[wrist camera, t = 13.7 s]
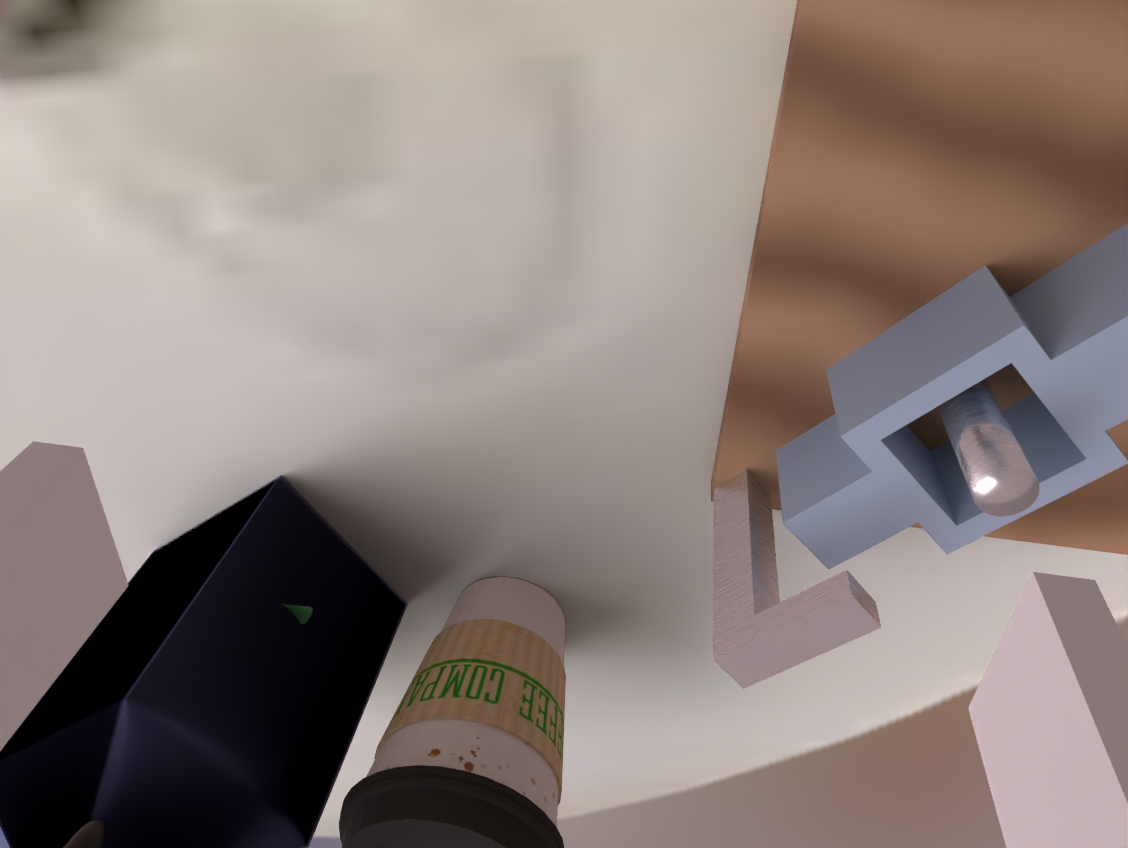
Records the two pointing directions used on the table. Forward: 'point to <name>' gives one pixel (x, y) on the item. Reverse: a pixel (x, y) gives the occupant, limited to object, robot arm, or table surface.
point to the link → (945, 369)
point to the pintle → (988, 452)
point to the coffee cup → (473, 733)
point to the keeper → (772, 594)
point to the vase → (208, 692)
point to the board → (927, 205)
